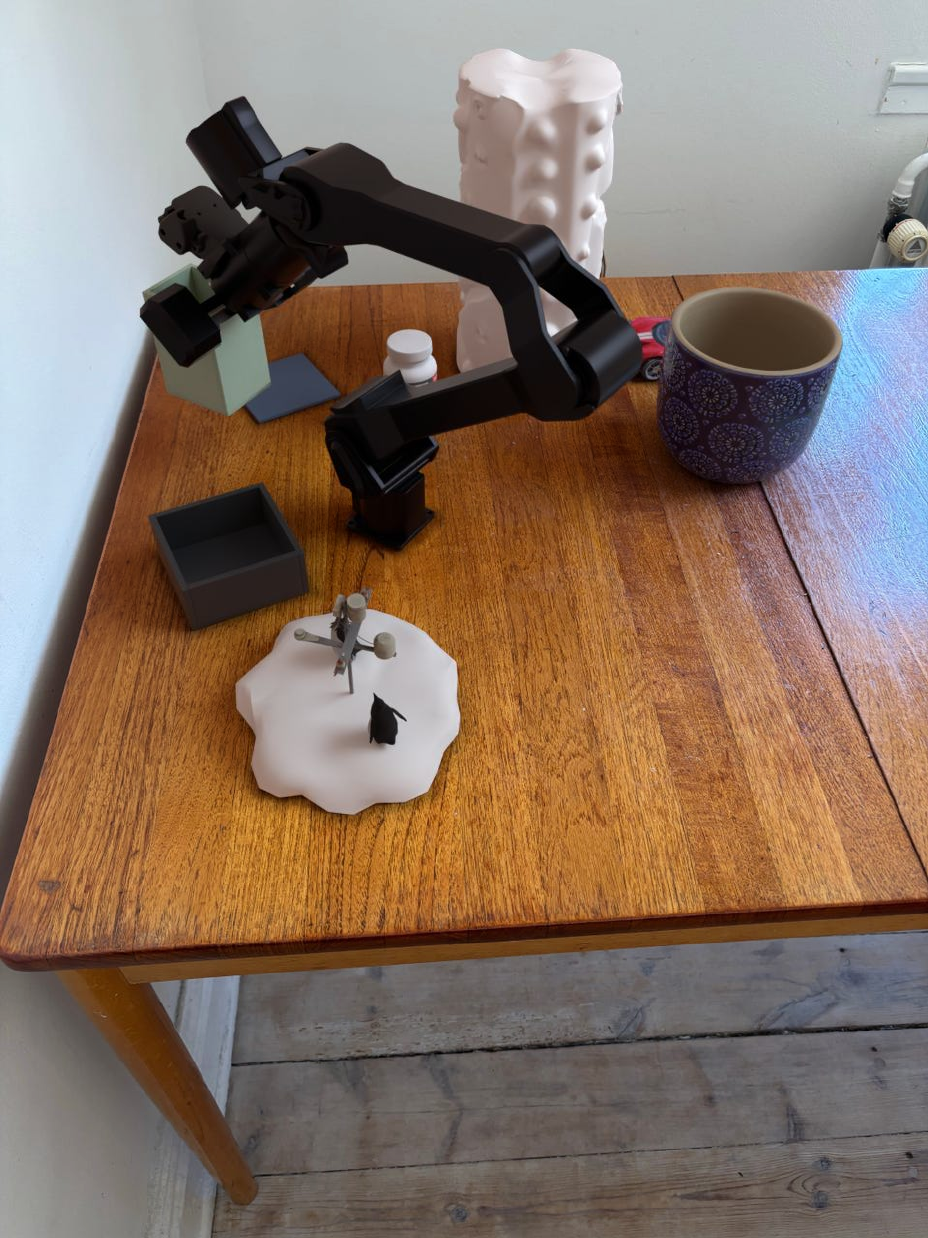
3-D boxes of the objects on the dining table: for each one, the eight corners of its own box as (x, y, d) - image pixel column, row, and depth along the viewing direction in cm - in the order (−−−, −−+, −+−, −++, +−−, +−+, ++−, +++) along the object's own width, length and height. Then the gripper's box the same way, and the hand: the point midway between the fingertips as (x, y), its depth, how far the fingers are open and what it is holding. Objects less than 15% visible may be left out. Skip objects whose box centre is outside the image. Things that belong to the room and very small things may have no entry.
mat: (341, 396, 114) (340, 393, 114) (259, 423, 110) (258, 420, 110) (302, 355, 120) (301, 352, 120) (223, 379, 116) (222, 376, 116)
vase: (456, 322, 125) (458, 37, 102) (587, 326, 125) (618, 41, 102) (449, 401, 114) (450, 99, 90) (594, 405, 113) (631, 104, 90)
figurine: (242, 619, 88) (213, 486, 75) (449, 610, 90) (456, 477, 77) (231, 829, 76) (193, 712, 63) (471, 813, 78) (482, 696, 65)
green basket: (271, 384, 102) (254, 283, 94) (228, 417, 98) (207, 314, 91) (211, 363, 105) (190, 262, 97) (167, 393, 101) (141, 291, 94)
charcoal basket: (269, 521, 99) (262, 481, 95) (309, 592, 92) (304, 552, 89) (158, 555, 96) (147, 515, 92) (192, 631, 89) (181, 591, 85)
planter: (664, 395, 115) (687, 273, 104) (812, 425, 111) (851, 302, 100) (631, 481, 104) (653, 354, 93) (794, 518, 100) (836, 390, 90)
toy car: (600, 340, 123) (604, 303, 119) (774, 337, 124) (784, 300, 120) (612, 384, 116) (617, 346, 113) (796, 380, 117) (807, 342, 114)
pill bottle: (445, 430, 110) (445, 349, 103) (395, 441, 108) (392, 360, 101) (427, 402, 113) (425, 322, 106) (379, 412, 112) (374, 332, 105)
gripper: (281, 131, 89) (207, 222, 101) (130, 210, 78) (67, 301, 90) (359, 239, 92) (278, 315, 104) (224, 329, 81) (151, 402, 93)
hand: (197, 330), depth 98 cm, fingers closed on green basket, 6 cm apart
